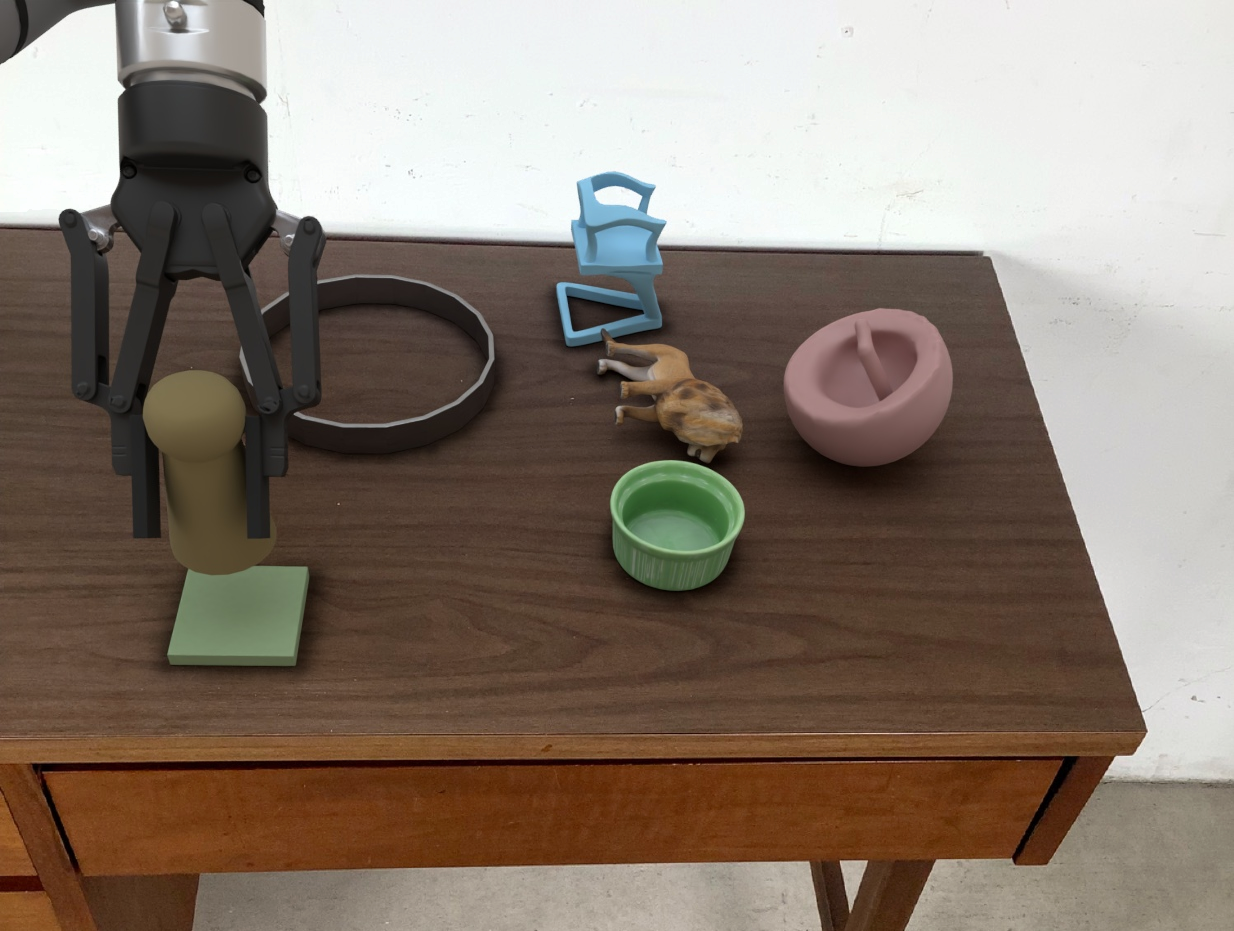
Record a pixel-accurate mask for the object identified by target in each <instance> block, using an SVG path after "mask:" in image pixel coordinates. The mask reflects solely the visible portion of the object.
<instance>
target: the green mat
mask: <svg viewBox="0 0 1234 931" xmlns="http://www.w3.org/2000/svg"><path fill="white" fill-rule="evenodd" d="M309 582H310V572H309V567H308V566H285V565H282V566H281V565H280V566H279V565H254V566H252V567H250V568H248V569H247V570H244V571H241V572H237V573H233V574H229V575H207V574H202V573H197V572H194V571H192V570H190V569H188V568H187V572H186V577H185V581H184V585H183V589H182V592H181V596H180V601H179V604H178V610H177V614H176V618H175V622H174V624H173V630H172V634H171V637H170V641H169V646H168V650H167V654H166V656H167V658H168V661H169V665H171V666H241V667H242V666H244V667H245V666H246V667H247V666H248V667H249V666H251V667H253V666H255V667H256V666H257V667H296V666H297V659H298V653H299V647H300V640H301V633H302V626H303V621H304V620H303V619H304V615H305V609H306V608H305V607H306V602H307V601H306V600H307V594H308V589H309Z"/></svg>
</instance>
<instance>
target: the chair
mask: <svg viewBox="0 0 1234 931" xmlns="http://www.w3.org/2000/svg"><path fill="white" fill-rule="evenodd" d="M612 187H619V188H624V189H627V190H630V191H632V192H634V193H635V194H638V195H639V196H641V199H640V202H639V204H638V208H634V207H632V206H629V205H625V204H603V203H602V202H601V203H600V202H599V201H598V200H597V198H596V195H595V193H597V192H598V191H601V190H603V189H606V188H612ZM656 187H657V185H656V184H653V183H649V182H645V181H641V180H640V179H637V178H635V177H634V176H632V175H629V174H626V173H624V172H620V171H615V170H614V171H605V172H601V173H599V174H595V175H592V176H588V177H585V178H583V179H581V180H578V181H576V189H577V196H578V202H579V211H580V212H579V218H578V219H571V221H570V222H571V223H570V232H571V236H572V241H573V244H574V250H575V254H576V259H577V260H576V261H577V266H578V270H579V276H600V275H603V276H607V277H612V278H613V277H614V278H618V279H621V280H623V281H626V282H627V283H629V284H630V286H631V287H632V288H633V290H634V291H635V293H632V292H631V293H630V292H626V291H620V290H614V289H609V288H605V287H604V288H603V287H597V286H592V285H586V284H581V283H574V282H565V281H563V282H558V283H557V284H556V298H557V303H558V307H559V308H558V309H559V314H560V319H561V325H562V329H563V334H564V341H565V345H566V346H568V347H579V346H584V345H588V344H593V343H597V342H602V341H603V340H602V336H601V329H602V328H604V329H606V331H607V332H608V333H609V334H610V336H611V337H612V339H613V338H617V337H622V336H626V335H630V334H635V333H640V332H644V331H649V330H651V331H652V330H657V329H661V328H662V326H663V316H662V312H661V309H660V306H659V303H658V297H657V294H656V291H655V286H654V280H655V277H657V275H663V269H664V263H663V259H662V256H661V253H660V249H659V246H658V244H657V243H658V240H659V238H660V236H661V234H662V232H663V231H664V229H665V227H666V225H667V223H668V221H667V220H665V219H660V218H657V217H654V216H651V215H649V214H648V209H649V205H650V200H651V198H652V195H653V194H654V192H655V190H656ZM567 296H568V297H573V298H578V299H584V300H589V301H593V302H599V303H602V304H603V303H604V304H607V305H612V306H617V307H623V308H629V309H635V310H641V311H643V313H644V314H639V315H635V316H630V317H627V318H624V319H619V320H616V321H611V322H609V323H605V324H601V325H597V326H593V327H590V328H585V329H583V330H578V331H574V330H573V326H572V320H571V314H570V309H569V304H568V297H567Z"/></svg>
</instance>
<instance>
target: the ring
mask: <svg viewBox="0 0 1234 931" xmlns="http://www.w3.org/2000/svg"><path fill="white" fill-rule="evenodd" d="M317 288H318V312H320V311H322V310H326V309H333V308H337V307H344V306H350V305H356V304H385V305H387V304H390V305H398V306H403V307H408V308H413V309H417V310H423V311H427V312H429V313H432V314H434V315H436V316H438V317H441V318H442V319H445V320H447V321H449V322H452V323H454V324H456V325H457V326H458V327H459V328H460V329H462V330H463V331H464V332H465V333H467V334H468V335H469V336H470V337H472V338H473V340H475V341H476V343H477V344H478V346H479V347H480V349H481V351H482V353H483V355H484V356H485V359H486V360H487V362H486V364H485V366H484V368H483V370H482V373H481V374H480V377H479V378H478V380H477V381H476V383H474V384H473V385H472V386H471V387H470V388H468V390H466V391H465V392H464V393H463V394H462V395H461V396H459V397H458V398H457V399H456V400H454V401H453V402H450V403H448V404H446V405H444V406H441V407H438V408H437V409H435V410H433V411H431V412H428V413H427V414H424V415H419V416H415V417H411V418H406V419H401V420H396V421H391V422H386V423H342V422H338V421H333V420H329V419H324V418H320V417H315V416H310V415H306V414H303V413H301V412H300V411H298V412H296V413H294V414H293V415H292V416H291V417H290V419H289V421H288V438H291V439H294V440H295V441H297V442H299V443H301V444H303V445H305V446H309V447H314V448H318V449H323V450H327V451H332V452H337V453H342V454H346V455H347V454H348V455H349V454H392V453H396V452H401V451H406V450H411V449H415V448H420V447H425V446H428V445H430V444H432V443H434V442H436V441H439V440H441V439H443V438H445V437H447V436H450V435H452V434H453V433H455V432H457V431H460V430H461V429H463V428H464V427H465V426H466V425H467V424H468V423H469V422H470V421H471V420H473V418H474V417H475V416H477V415H478V414H479V413H480V412H481V411H482V410H483V409H484V407H485V405H486V403H487V402H488V399H489V396H490V394H492V390H493V389H494V387H495V344H494V343H495V341H494V334H493V333H492V331H491V329H490V327H489V326H488V324H487V322H486V320H485V319H484V316H483V315H482V313H480V311H478V310H477V309H476V308H474V306H472V305H470V303H469V302H467V301H466V300H465V299H463V298H462V297H461V296H459V295H458V294H456V293H454V292H453V291H450V290H447V289H445V288H442V287H440V286H438V285H435V284H433V283H431V282H429V281H424V280H419V279H413V278H411V277H410V278H409V277H404V276H400V275H394V274H355V273H354V274H349V275H342V276H338V277H331V278H330V277H329V278H324V279H318V280H317ZM260 309H261V313H262V316H263V320H264V323H265V326H266V330H267V333H268V337H269V339H270V338H271V337H272V336H274V335H275V334H277V333H278V332H280V331H281V330H283V329H284V328H285V327H287V326H288V325H290V308H289V291H287V292H284V293H283V294H282V295H279V297H277V298H275V299H274V300H273V301H271V302H270V303H269V304H267V305H266V306H264V307H262V308H260ZM239 350H240V351H239V357H238V358H239V364H240V368H241V373H242V374H241V375H242V379H243V380H242V381H243V384H244V387H245V389H246V392H247V393H246V394H247V396H248V399H249V400H250V404H251V407H252V409H254V410H255V411H256V413H257V414H258V415H259V416H261V411H260V410H259V409H258V407H257V405H258V401H257V398H256V394H255V391H254V388H253V384H252V381H251V377H250V374H249V370H248V367H247V364H246V360H245V357H244V353H243V350H242V346H241V345H240V349H239Z"/></svg>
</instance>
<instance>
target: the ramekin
mask: <svg viewBox="0 0 1234 931" xmlns="http://www.w3.org/2000/svg"><path fill="white" fill-rule="evenodd" d="M610 495H611V496H610V499H609V500H610V501H609V508H610V509H609V510H610V515H611V519H612V548H613V552H614V555H615V558H616V560H617V562H618V563H619V565H620V566H621V568H622V569H623V570H624V571H625V572H626V573H627V574H628V575H629V576H630V577H632V578H633V579H635V580H637V581H638V582H640V583H642V584H644V585H646V586H648V587H652V588H655V589H659V590H664V591H671V592H672V591H673V592H675V591H677V592H679V591H680V592H681V591H689V590H694V589H698V588H701V587H704V586H706V585H707V584H709V583H711V582H713V581H714V580H716V578H718V577H719V576H720V575H721V574H722V572H723V571H724V569H725V568H726V566H727V564H728V561H729V559H730V556H731V554H732V550H733V548H734V546H735V545H734V544H735V542H736V539H737V538H738V536H739V534H740V533H741V530H742V528H743V526H744V523H745V520H746V519H745V518H746V517H745V516H746V514H745V513H746V510H745V504H744V501H743V498H742V496H741V495H740V493H739V491H738V490H737V489H736V487H735V486H734V485H733V484H732V483H731V482H730V481H729V480H728V479H727V478H725V477H724V476H722V475H721V474H719V473H718V472H717V471H715V470H712V469H710V468H709V467H707V466H704V465H700V464H698V463H693V462H691V461H683V460H670V459H669V460H668V459H667V460H656V461H650V462H646V463H644V464H641V465H638V466H636V467H634V468H632V469H630V470H629V471H627V472H626V473H624V474H623V475H622V476H621V477H620V478H619V479H618V481H617V482H616V484H615V485H614V487H613V489H612V492H611V494H610Z"/></svg>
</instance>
